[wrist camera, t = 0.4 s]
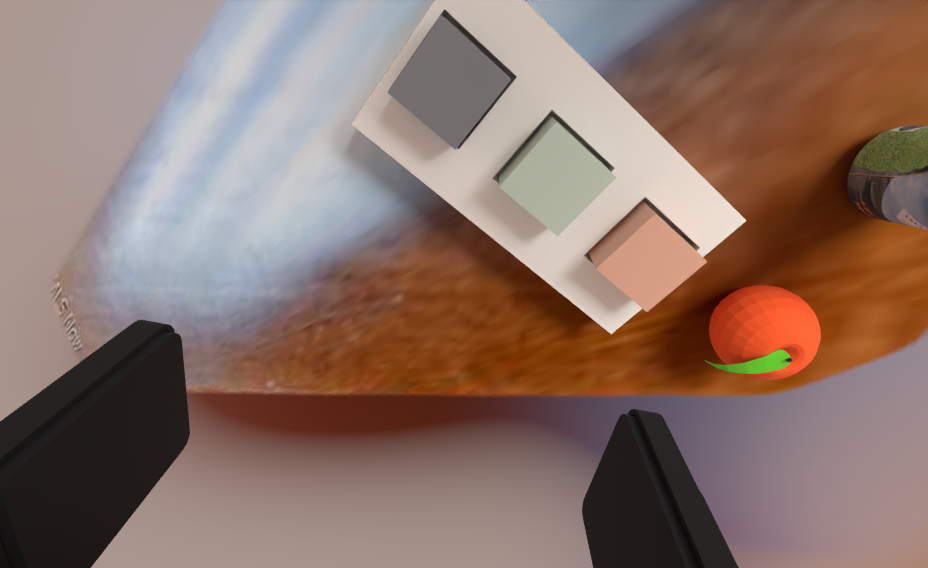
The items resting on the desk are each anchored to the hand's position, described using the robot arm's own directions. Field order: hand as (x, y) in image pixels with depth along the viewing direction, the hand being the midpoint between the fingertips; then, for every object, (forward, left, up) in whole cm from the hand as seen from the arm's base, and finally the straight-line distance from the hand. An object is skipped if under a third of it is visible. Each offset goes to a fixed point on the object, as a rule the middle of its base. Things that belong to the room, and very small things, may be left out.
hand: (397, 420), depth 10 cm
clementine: (-5, +24, -27) cm, 36 cm away
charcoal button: (-4, -4, -24) cm, 25 cm away
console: (-4, +5, -26) cm, 27 cm away
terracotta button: (-4, +13, -24) cm, 28 cm away
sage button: (-4, +5, -24) cm, 25 cm away
